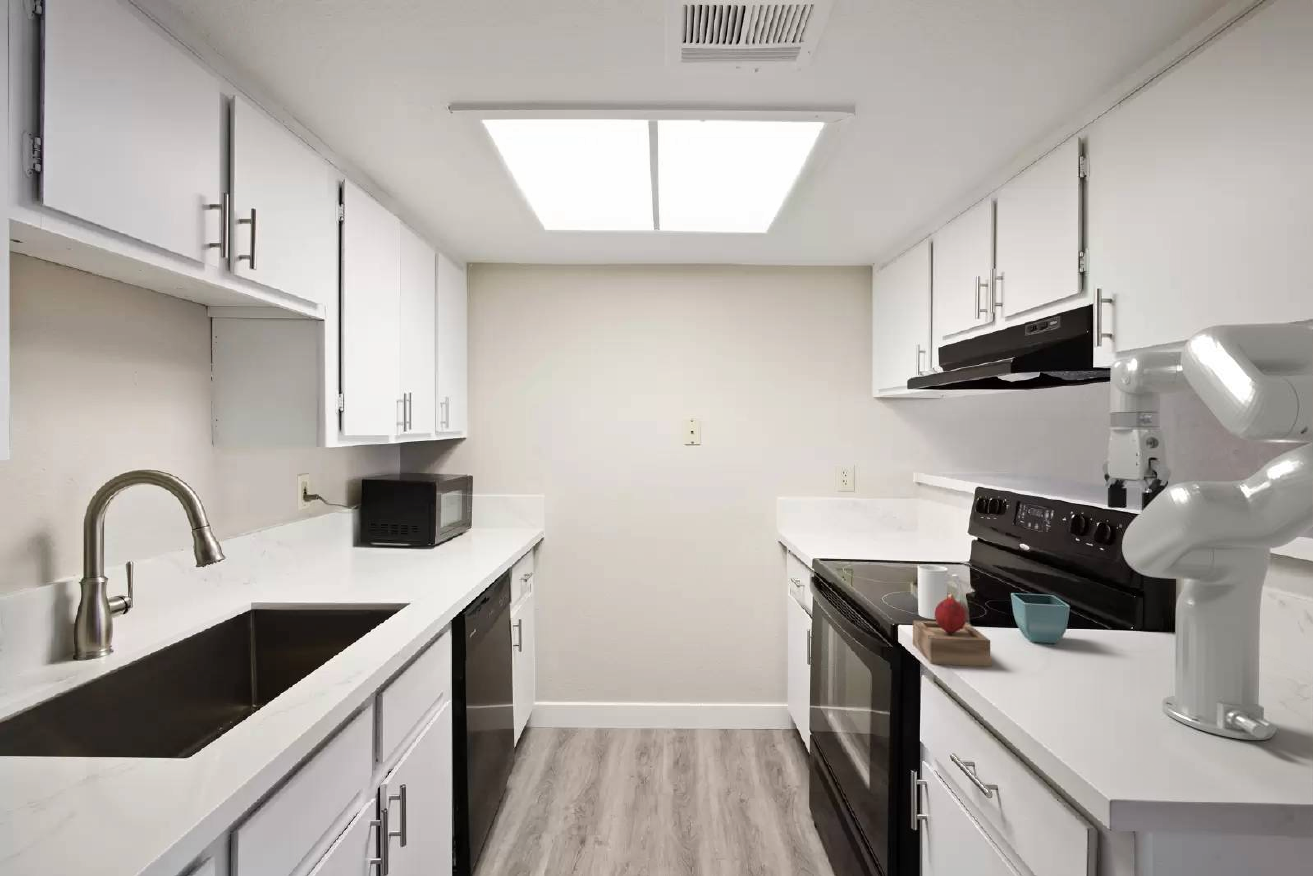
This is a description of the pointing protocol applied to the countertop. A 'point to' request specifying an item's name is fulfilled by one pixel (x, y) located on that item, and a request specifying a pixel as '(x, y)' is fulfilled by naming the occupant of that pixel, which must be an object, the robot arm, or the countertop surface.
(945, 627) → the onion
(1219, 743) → the countertop surface
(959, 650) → the open walnut box
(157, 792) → the countertop surface
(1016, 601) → the flower pot
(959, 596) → the mug
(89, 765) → the countertop surface
